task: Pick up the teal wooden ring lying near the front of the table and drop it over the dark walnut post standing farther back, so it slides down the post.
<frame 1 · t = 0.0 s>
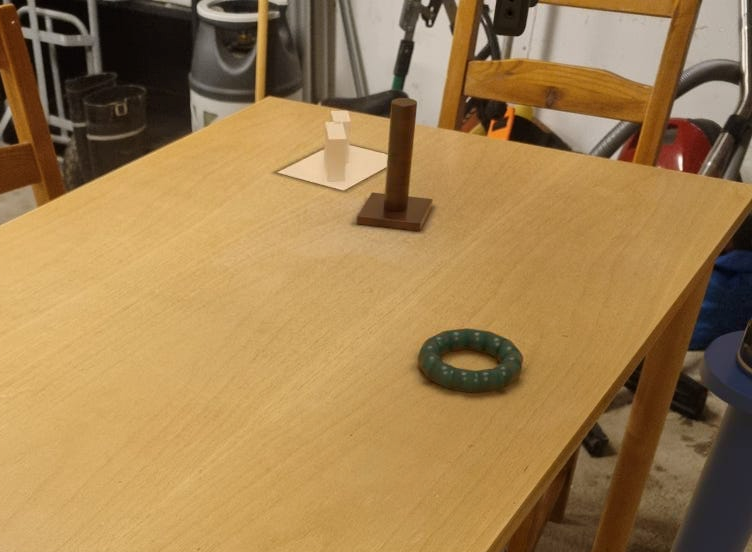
hand: (515, 19, 67), 30 cm above the table, tool pointing down, fingers open, 8 cm apart
post: (394, 215, 118), on the table
ring: (470, 359, 91), point 1 cm above the table
napkin holder: (340, 166, 131), on the table
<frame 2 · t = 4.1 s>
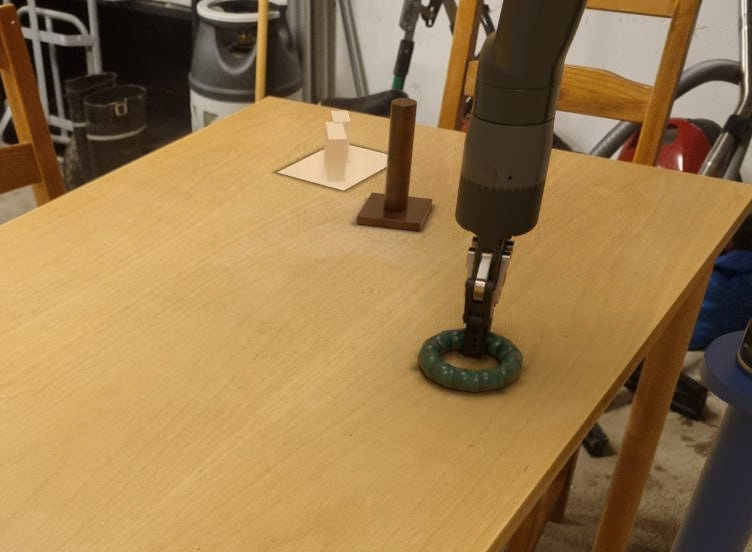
hand: (475, 348, 94), 0 cm above the table, tool pointing down, fingers closed on ring, 2 cm apart
ring: (470, 359, 91), point 1 cm above the table, touching gripper
everything else where it was.
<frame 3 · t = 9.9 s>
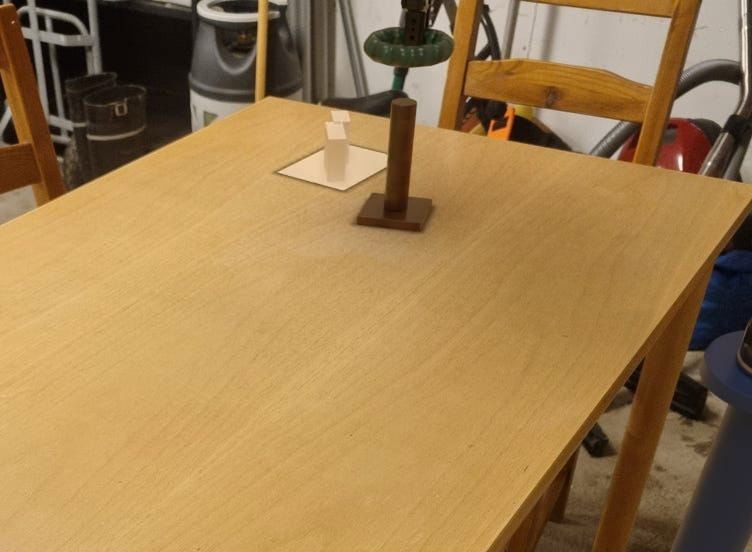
hand: (415, 46, 108), 18 cm above the table, tool pointing down, fingers closed on ring
ring: (409, 46, 105), point 19 cm above the table, touching gripper
everything else where it was.
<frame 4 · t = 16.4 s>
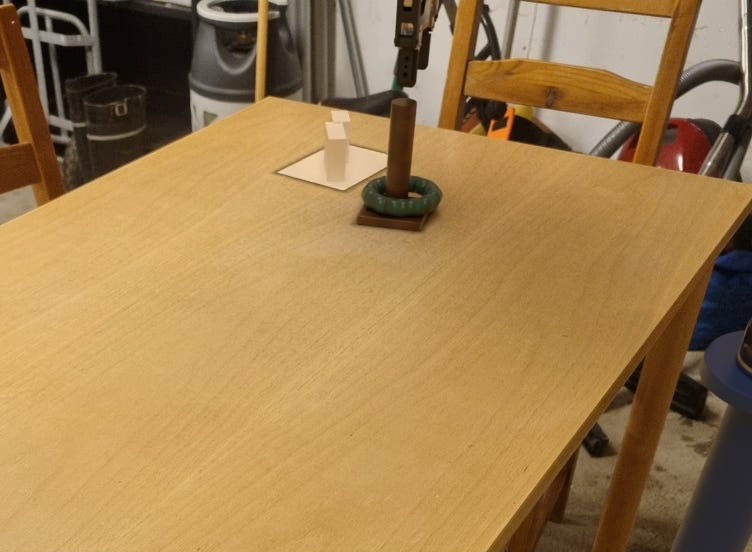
hand: (412, 77, 110), 15 cm above the table, tool pointing down, fingers open, 7 cm apart
ring: (401, 195, 118), point 2 cm above the table, touching post
everything else where it was.
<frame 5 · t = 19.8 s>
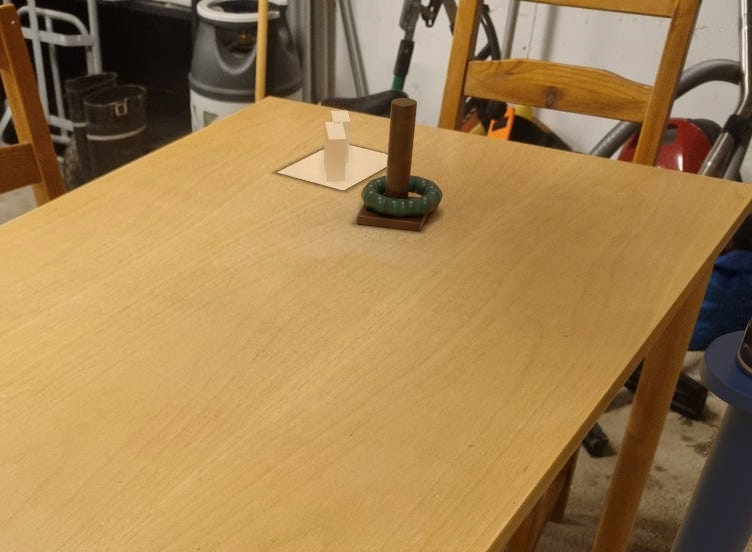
nothing on the table moved.
at the end: ring 1.5 cm off-centre on the post, point 2.0 cm above the post's base; the gripper is holding nothing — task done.
